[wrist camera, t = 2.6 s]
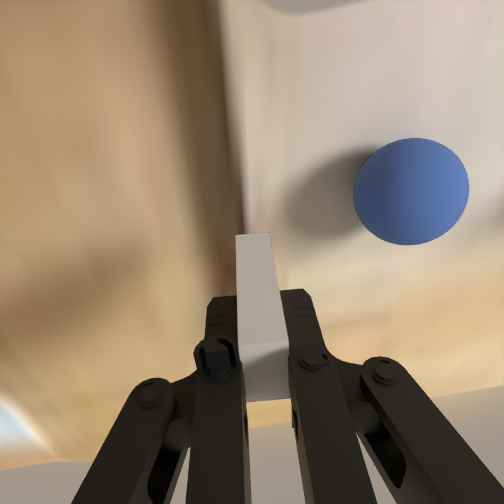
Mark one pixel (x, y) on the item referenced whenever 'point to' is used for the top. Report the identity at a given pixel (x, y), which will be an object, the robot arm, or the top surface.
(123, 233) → the top surface
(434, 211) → the ball
